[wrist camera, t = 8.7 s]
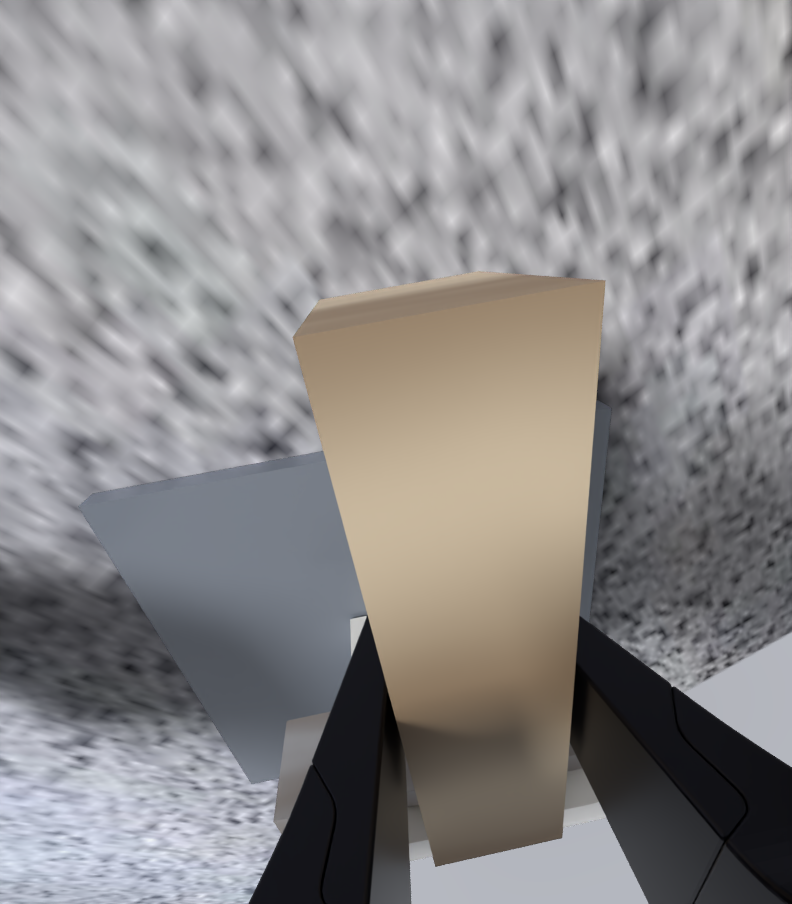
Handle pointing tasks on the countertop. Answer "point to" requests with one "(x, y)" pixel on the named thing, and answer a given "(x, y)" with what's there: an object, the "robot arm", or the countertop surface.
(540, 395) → the block
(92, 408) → the countertop surface
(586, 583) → the slate board
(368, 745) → the robot arm
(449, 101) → the countertop surface
